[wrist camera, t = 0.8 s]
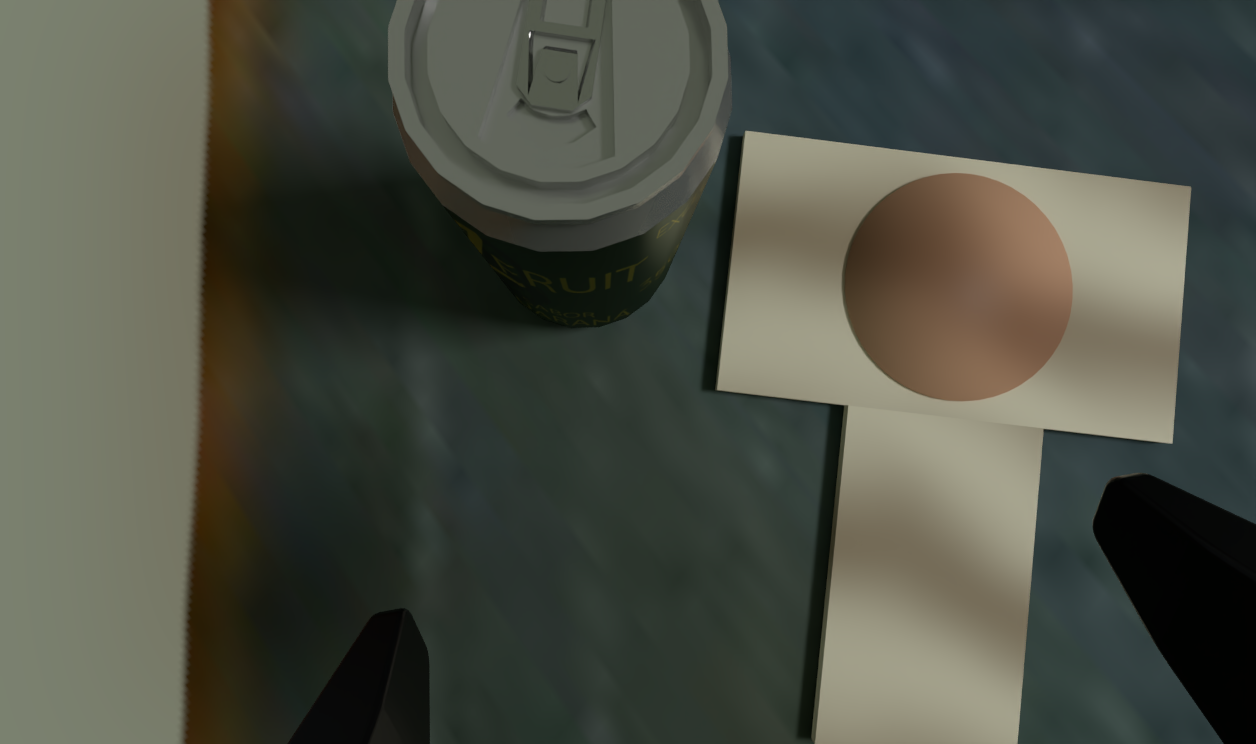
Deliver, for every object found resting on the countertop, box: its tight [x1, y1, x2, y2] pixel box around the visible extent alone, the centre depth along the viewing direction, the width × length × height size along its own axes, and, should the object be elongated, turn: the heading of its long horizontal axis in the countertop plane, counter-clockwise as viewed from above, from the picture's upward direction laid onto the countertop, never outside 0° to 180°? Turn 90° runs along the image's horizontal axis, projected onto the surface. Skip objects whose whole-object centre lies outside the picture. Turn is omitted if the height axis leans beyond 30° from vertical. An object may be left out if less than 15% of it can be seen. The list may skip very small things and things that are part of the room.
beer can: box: [388, 0, 732, 328], centre depth 16 cm, size 5×5×12 cm
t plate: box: [715, 131, 1191, 744], centre depth 22 cm, size 18×14×1 cm
